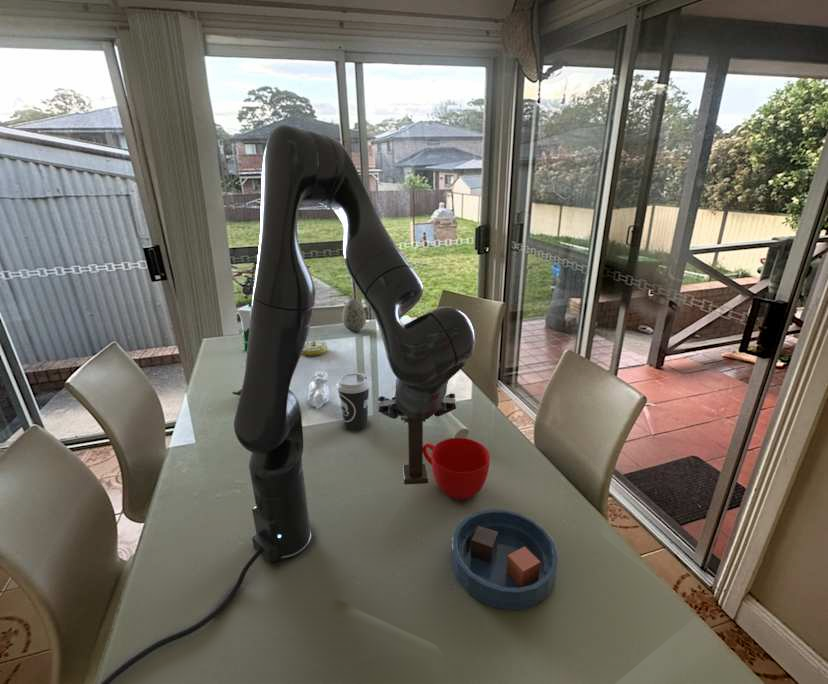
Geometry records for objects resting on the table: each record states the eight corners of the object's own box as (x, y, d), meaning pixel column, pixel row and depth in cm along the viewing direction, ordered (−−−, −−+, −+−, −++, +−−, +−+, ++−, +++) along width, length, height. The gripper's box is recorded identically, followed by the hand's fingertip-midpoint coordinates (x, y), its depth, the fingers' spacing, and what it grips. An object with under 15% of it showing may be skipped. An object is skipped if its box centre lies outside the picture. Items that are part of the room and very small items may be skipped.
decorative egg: (358, 325, 210) (356, 294, 204) (371, 331, 202) (369, 299, 197) (338, 330, 203) (336, 299, 198) (351, 336, 196) (349, 304, 190)
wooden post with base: (428, 483, 82) (429, 408, 77) (404, 484, 82) (403, 409, 76) (425, 468, 87) (426, 396, 81) (403, 469, 86) (401, 397, 81)
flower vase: (446, 465, 122) (388, 391, 146) (482, 443, 125) (420, 374, 150) (440, 439, 114) (381, 366, 139) (479, 416, 118) (414, 348, 142)
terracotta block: (521, 588, 76) (523, 571, 75) (506, 571, 80) (507, 555, 78) (538, 578, 78) (540, 561, 77) (522, 562, 82) (524, 546, 80)
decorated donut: (303, 347, 184) (302, 339, 183) (329, 347, 184) (328, 338, 183) (298, 357, 174) (297, 348, 173) (325, 356, 174) (324, 348, 173)
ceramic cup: (439, 459, 112) (439, 426, 108) (498, 487, 102) (500, 451, 98) (406, 486, 103) (405, 450, 99) (467, 520, 93) (469, 481, 89)
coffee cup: (366, 436, 122) (364, 388, 117) (334, 432, 124) (330, 384, 118) (376, 418, 131) (374, 372, 125) (345, 415, 133) (342, 370, 127)
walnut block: (491, 563, 81) (492, 547, 80) (470, 556, 83) (471, 540, 81) (497, 548, 85) (498, 532, 83) (477, 541, 86) (478, 525, 85)
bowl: (524, 636, 69) (527, 613, 68) (432, 572, 81) (432, 551, 79) (570, 561, 83) (574, 540, 81) (485, 515, 94) (486, 496, 92)
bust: (326, 416, 136) (345, 386, 136) (305, 408, 132) (325, 376, 132) (315, 400, 146) (333, 371, 146) (296, 391, 142) (314, 362, 142)
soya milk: (272, 346, 185) (266, 300, 178) (259, 354, 177) (252, 306, 170) (254, 343, 188) (247, 298, 180) (241, 351, 180) (233, 304, 172)
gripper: (463, 363, 68) (449, 395, 84) (373, 366, 67) (376, 399, 83) (468, 410, 65) (453, 435, 81) (374, 414, 64) (377, 438, 80)
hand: (414, 416), depth 82 cm, fingers closed on wooden post with base, 2 cm apart
